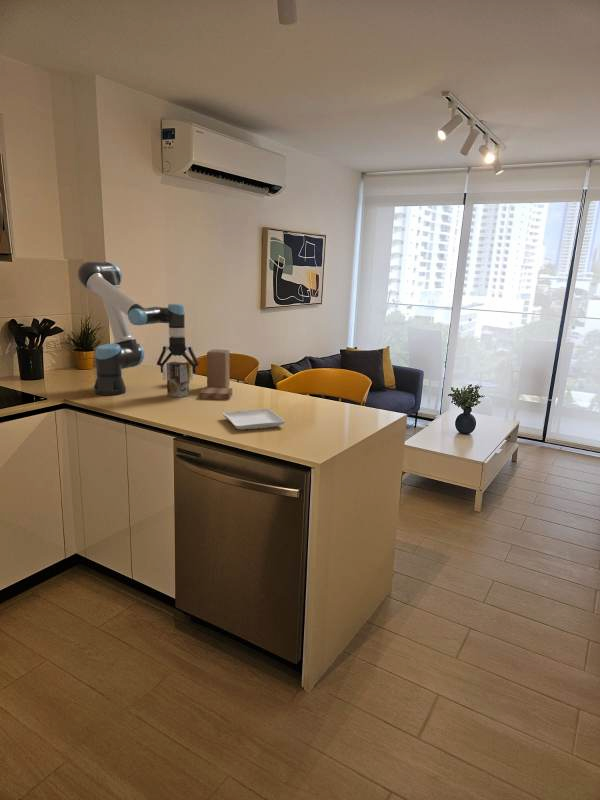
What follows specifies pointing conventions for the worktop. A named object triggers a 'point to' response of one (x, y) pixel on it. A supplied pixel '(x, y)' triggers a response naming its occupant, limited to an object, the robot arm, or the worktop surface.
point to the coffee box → (177, 379)
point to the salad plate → (253, 419)
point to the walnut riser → (216, 393)
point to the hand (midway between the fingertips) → (178, 379)
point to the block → (218, 368)
